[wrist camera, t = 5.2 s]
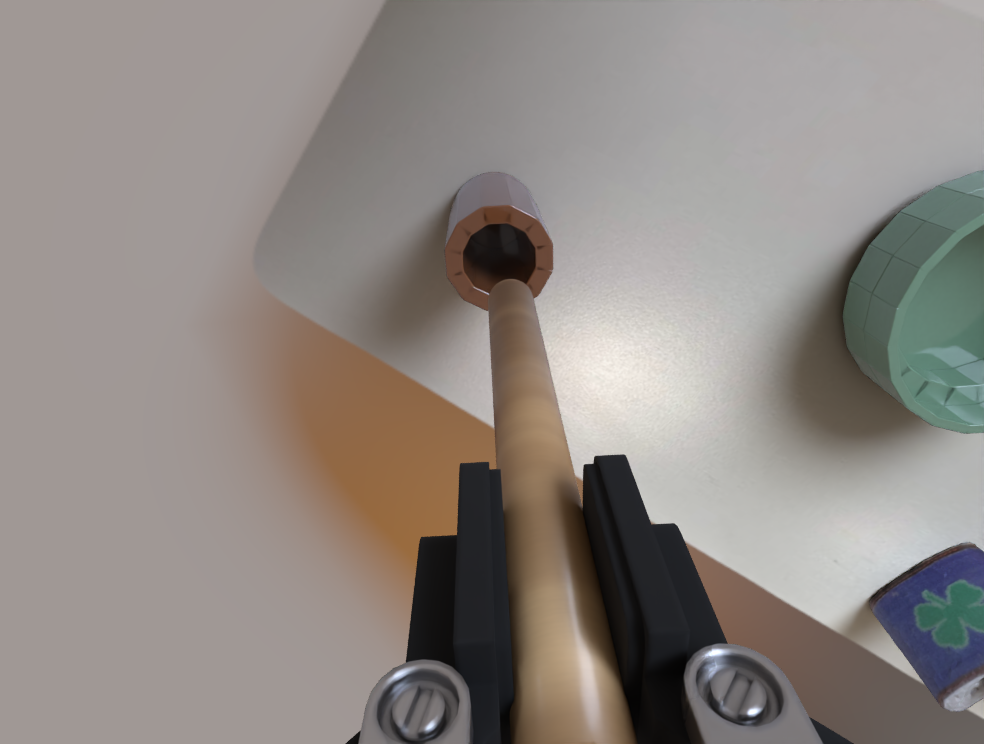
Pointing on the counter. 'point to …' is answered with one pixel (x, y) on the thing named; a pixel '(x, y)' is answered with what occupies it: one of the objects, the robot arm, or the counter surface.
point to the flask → (940, 623)
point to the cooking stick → (547, 550)
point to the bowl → (926, 307)
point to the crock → (496, 238)
